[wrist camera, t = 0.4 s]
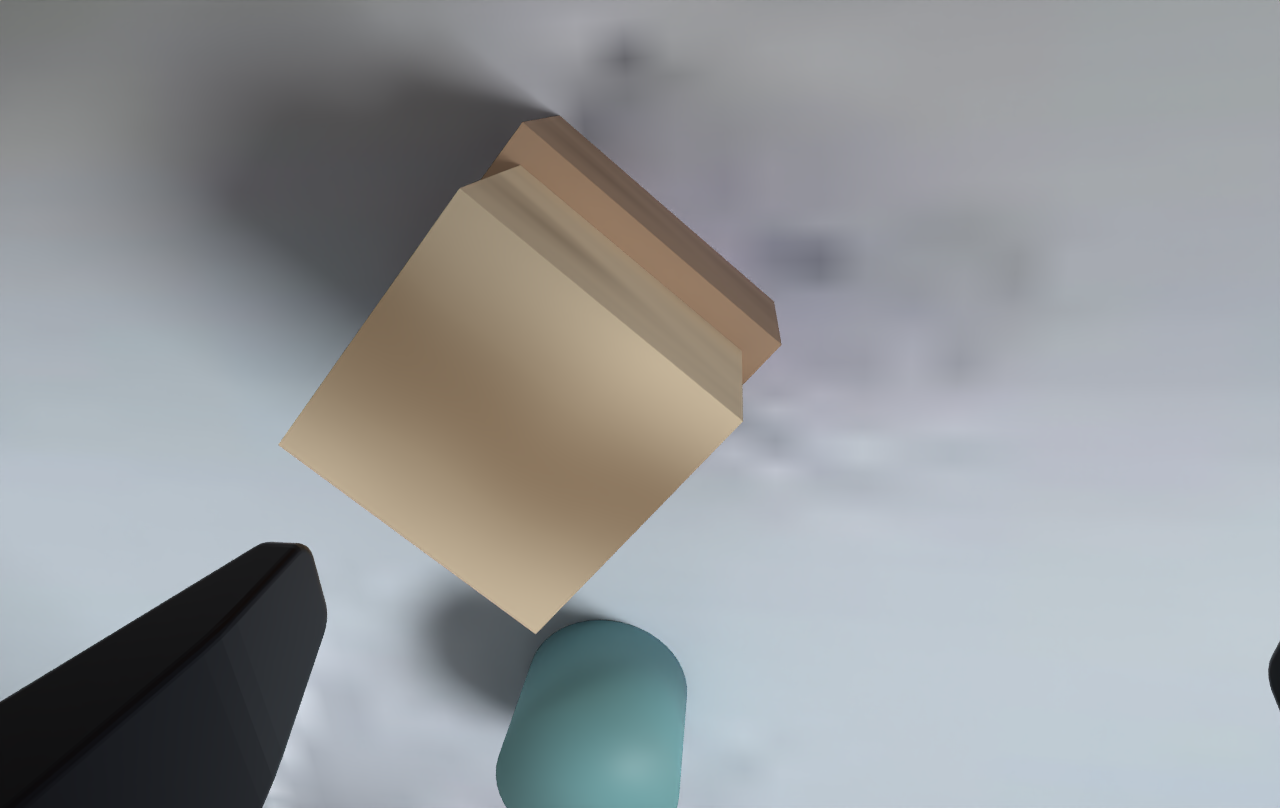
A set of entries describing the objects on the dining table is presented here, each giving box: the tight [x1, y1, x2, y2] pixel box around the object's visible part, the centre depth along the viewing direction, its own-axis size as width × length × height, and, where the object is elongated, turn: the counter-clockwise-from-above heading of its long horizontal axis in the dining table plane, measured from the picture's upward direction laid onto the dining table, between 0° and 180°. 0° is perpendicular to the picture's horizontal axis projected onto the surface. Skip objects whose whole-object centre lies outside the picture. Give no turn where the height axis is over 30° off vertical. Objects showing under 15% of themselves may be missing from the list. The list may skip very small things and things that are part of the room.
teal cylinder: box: [496, 620, 687, 808], centre depth 24 cm, size 5×5×4 cm
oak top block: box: [279, 165, 743, 634], centre depth 17 cm, size 6×6×4 cm
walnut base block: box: [481, 116, 781, 385], centre depth 20 cm, size 7×7×4 cm
